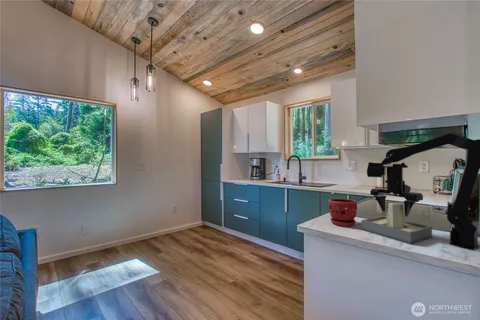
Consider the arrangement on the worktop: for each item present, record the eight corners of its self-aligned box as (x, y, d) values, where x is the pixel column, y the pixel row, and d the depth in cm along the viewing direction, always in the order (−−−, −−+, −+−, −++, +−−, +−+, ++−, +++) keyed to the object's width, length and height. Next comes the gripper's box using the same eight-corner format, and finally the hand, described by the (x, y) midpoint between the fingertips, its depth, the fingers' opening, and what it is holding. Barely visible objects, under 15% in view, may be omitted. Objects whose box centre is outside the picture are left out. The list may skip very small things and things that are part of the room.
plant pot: (363, 225, 111) (362, 200, 111) (344, 229, 105) (344, 203, 105) (340, 218, 123) (340, 196, 123) (322, 222, 117) (322, 198, 117)
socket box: (432, 237, 93) (432, 226, 93) (410, 244, 86) (410, 232, 86) (382, 224, 111) (382, 215, 111) (361, 229, 104) (361, 220, 104)
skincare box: (404, 233, 95) (404, 204, 95) (392, 233, 96) (392, 204, 96) (397, 229, 101) (396, 201, 101) (386, 228, 102) (386, 201, 102)
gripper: (429, 178, 94) (430, 216, 94) (383, 175, 110) (384, 207, 110) (415, 180, 89) (415, 220, 89) (369, 176, 105) (369, 210, 105)
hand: (394, 214), depth 98 cm, fingers open, 9 cm apart
